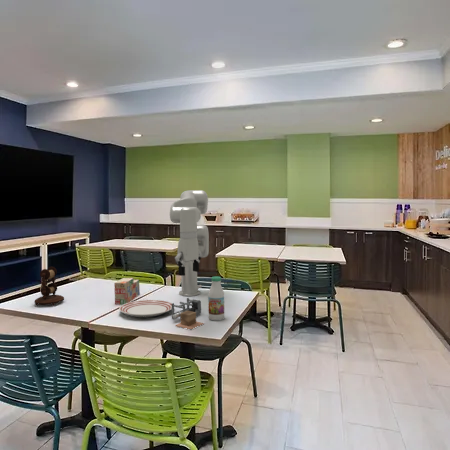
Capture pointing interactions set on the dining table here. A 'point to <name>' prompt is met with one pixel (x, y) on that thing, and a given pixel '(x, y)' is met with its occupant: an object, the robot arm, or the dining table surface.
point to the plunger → (194, 307)
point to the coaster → (190, 326)
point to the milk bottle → (216, 300)
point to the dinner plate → (146, 308)
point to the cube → (188, 318)
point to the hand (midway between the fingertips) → (189, 273)
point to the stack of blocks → (126, 290)
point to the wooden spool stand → (48, 288)
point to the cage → (187, 306)
